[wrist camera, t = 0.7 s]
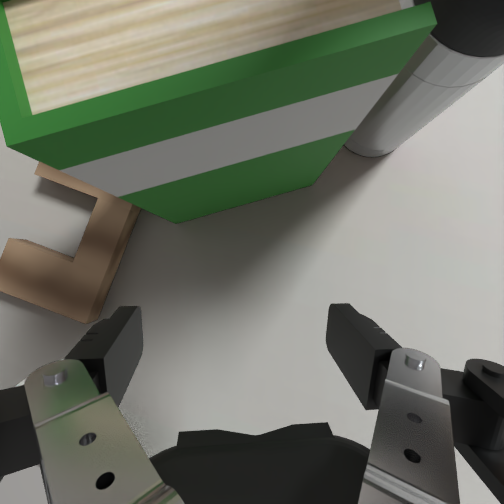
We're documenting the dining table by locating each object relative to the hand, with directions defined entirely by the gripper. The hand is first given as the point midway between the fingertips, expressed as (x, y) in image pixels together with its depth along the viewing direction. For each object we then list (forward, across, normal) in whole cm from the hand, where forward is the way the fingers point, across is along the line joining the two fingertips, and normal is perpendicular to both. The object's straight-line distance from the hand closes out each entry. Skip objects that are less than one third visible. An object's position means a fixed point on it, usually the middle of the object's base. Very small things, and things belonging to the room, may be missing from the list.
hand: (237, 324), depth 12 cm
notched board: (+26, +18, 0) cm, 32 cm away
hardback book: (+26, -1, -6) cm, 27 cm away
